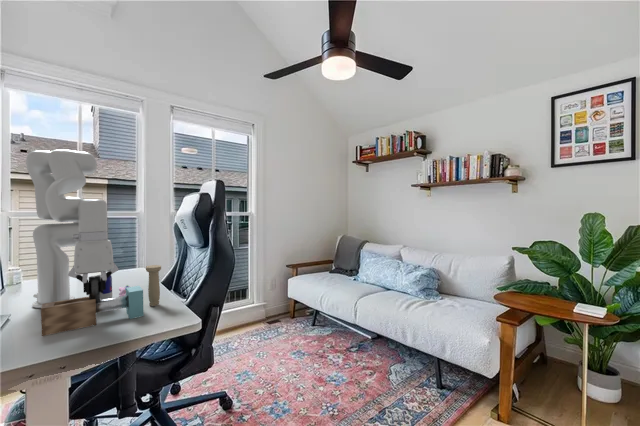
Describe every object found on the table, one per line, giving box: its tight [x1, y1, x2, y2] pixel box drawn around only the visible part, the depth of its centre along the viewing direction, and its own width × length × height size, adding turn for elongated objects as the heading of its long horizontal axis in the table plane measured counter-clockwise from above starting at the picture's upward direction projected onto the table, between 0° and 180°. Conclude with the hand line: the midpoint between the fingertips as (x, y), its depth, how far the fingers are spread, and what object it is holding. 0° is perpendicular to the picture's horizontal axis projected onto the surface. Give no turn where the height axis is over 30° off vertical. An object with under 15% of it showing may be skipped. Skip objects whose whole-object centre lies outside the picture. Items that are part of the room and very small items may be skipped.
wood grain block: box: [40, 296, 97, 337], centre depth 94 cm, size 13×6×8 cm, turn 129°
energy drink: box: [96, 274, 113, 300], centre depth 114 cm, size 5×5×12 cm
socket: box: [125, 285, 145, 320], centre depth 105 cm, size 4×8×9 cm, turn 40°
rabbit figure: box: [118, 284, 131, 297], centre depth 126 cm, size 6×6×15 cm
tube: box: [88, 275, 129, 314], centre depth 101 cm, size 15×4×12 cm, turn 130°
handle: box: [145, 264, 162, 307], centre depth 115 cm, size 5×6×15 cm
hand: (94, 292), depth 98 cm, fingers closed on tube, 3 cm apart
